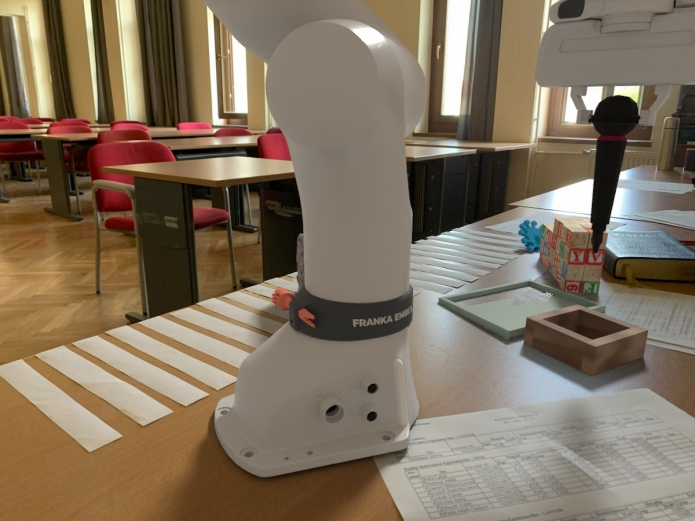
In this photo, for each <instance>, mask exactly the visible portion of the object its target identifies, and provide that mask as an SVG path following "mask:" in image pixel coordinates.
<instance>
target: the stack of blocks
mask: <svg viewBox="0 0 695 521" xmlns="http://www.w3.org/2000/svg"><path fill="white" fill-rule="evenodd" d="M541 225H542V231H541V245H540V253H539V257H538V258H539V259H540V261H541V263H542V265H544V267H545V268H546V269H547V271H549V273H550V274H551V276H552V277H553V279H554V280H555V282H556V283H557V284H558V286H559V288H560V290H562V291H565V292H568V293H577V292H579V293H578V294H590V293H591V294H592V295H599V291H600V286H601V277H602V271H603V265H604V263H605V262H604V261H605V256H606V249H607V248H606V247H607V242H608V237H609V233H608V231H607V230H606V231H604V234H603V238H602V241H601V244H600V247H599V250H598V253H593V252H592V232H593V230H591V227H592V223H590V220H589V219H587V218H580V217H579V218H572V217H571V218H570V217H566V218H565V217H554V221H553V223H542V224H541ZM594 293H595V294H594Z"/></svg>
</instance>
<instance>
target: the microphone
mask: <svg viewBox="0 0 695 521" xmlns="http://www.w3.org/2000/svg"><path fill="white" fill-rule="evenodd" d="M639 111H640V110H639V106H638V103H637V101H636V100H634V99H633V98H632V97H631V96H627V95H621V94H615V95H610V96H606V97H605V98H603V99H602V100H601V101H599V102H598V103H597V105H596V107H595V109H594V111H593V115H591V117H590V123H591V124H592V125H593V127H594V131H596V132H597V133H598V135H599V136H597V139H596V144H595V145H596V147H595V160H594V168H593V169H594V170H593V184H592V193H591V194H592V195H591V208H590V218H589V219H590V220H589V221H590V223H592V227H591V230H593V232H592V252H593V253H598V250H599V247H600V244H601V241H602V238H603V234H604V231H606V232H607V227H608V226H607V225H610V221H611V217H612V213H613V212H612V211H613V208H614V203H615V198H616V193H617V188H618V184H619V180H620V176H621V172H622V166H623V161H624V158H625V151H626V148H627V142H628V138H627V137H626V135H629V133H631V132H632V131H634V129H635V127H636V126H637V125H639V120H640V118H641V117H640V112H639Z"/></svg>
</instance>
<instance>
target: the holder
mask: <svg viewBox="0 0 695 521" xmlns="http://www.w3.org/2000/svg"><path fill="white" fill-rule="evenodd" d="M648 334H649V329H647V328H643V327H640V326H638V325H635V324H632V323H629V322H627V321H624V320H622V319H619V318H616V317H613V316H611V315H608V314H606V313H605V314H603V313H600V312H597V311H595V310H592V309H589V308H586V307H584V306H581V305H578V304H577V305H573V306H569V307H565V308H561V309H557V310H553V311H549V312H545V313H541V314H537V315H533V316H529V317H526V326H525V335H524V336H523V344H525V345H527V346H529V347H531V348H532V349H535V350H537V351H539V352H541V353H543V354H545V355H548V356H549V357H552V358H554V359H556V360H558V361H560V362H562V363H564V364H566V365H568V366H570V367H572V368H574V369H576V370H578V371H580V372H582V373H583V374H584V373H585V374H587V375H589V376H591V377H592V376H595V375H597V374H600V373H603V372H606V371H609V370H612V369H614V368H617V367H619V366H623V365H626V364H628V363H631V362H634V361H636V360H637V361H638V360H639V359H642V358H644V356H645V352H646V346H647V340H648Z"/></svg>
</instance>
